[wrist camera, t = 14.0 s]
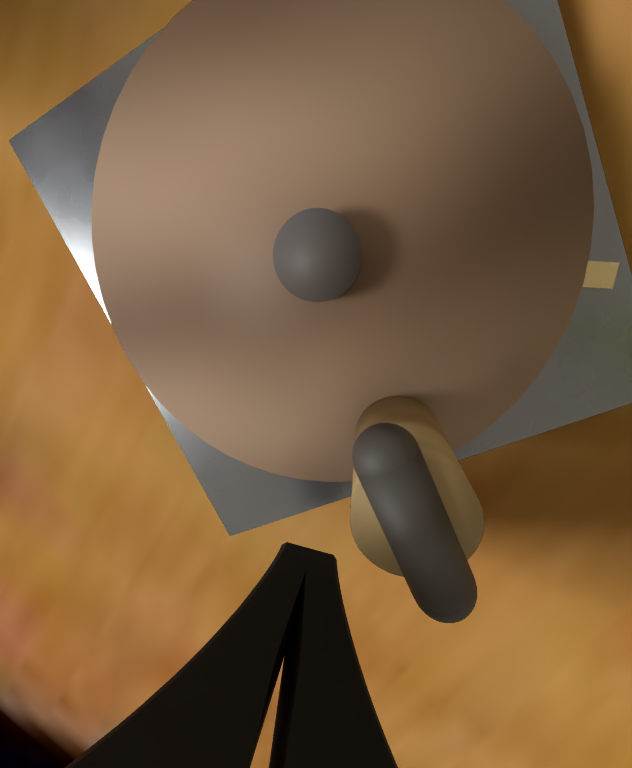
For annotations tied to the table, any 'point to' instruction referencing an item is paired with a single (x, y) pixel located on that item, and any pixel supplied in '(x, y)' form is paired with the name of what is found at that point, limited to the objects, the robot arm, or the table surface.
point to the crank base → (524, 419)
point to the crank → (348, 248)
